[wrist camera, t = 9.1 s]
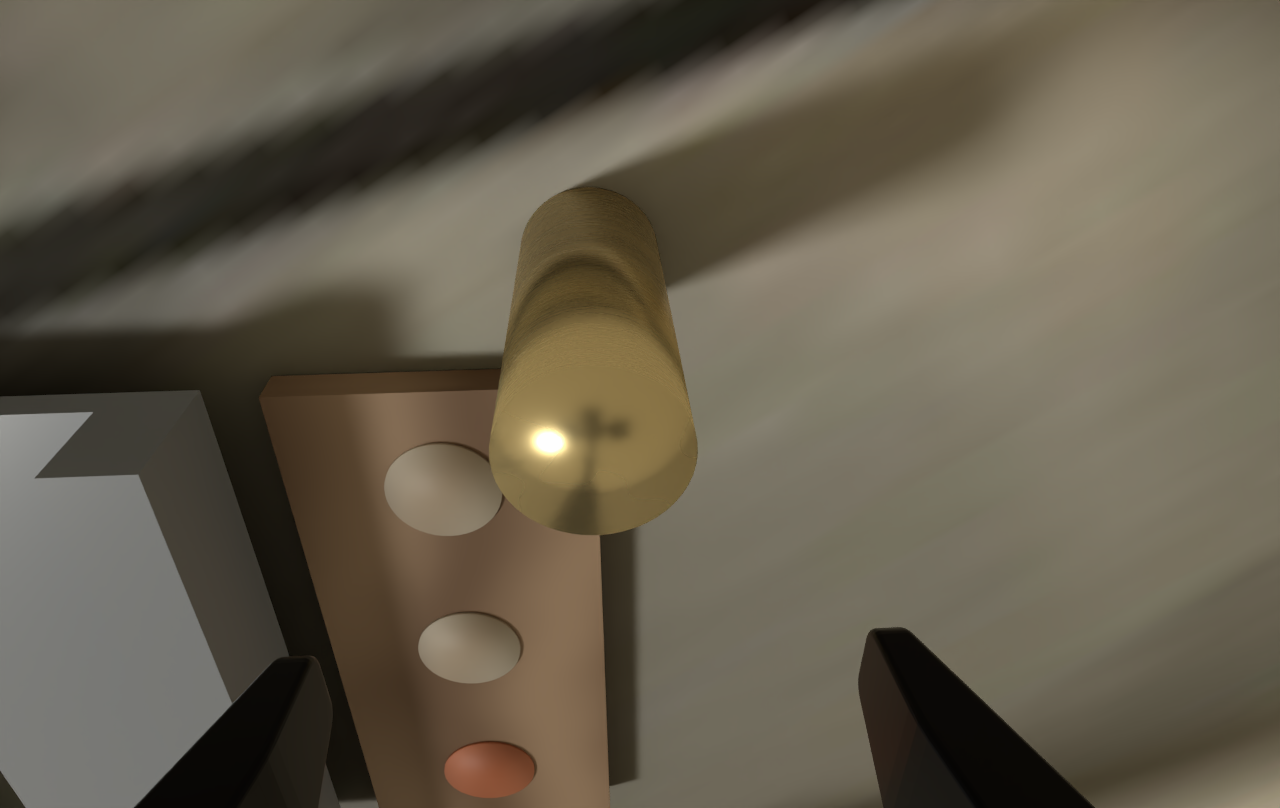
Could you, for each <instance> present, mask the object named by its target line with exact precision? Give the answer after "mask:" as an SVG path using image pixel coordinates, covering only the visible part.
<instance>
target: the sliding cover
mask: <svg viewBox="0 0 1280 808" xmlns="http://www.w3.org/2000/svg"><path fill="white" fill-rule="evenodd" d="M288 656H289V653H288V650H287V647H286V644H285V641H284V638H283V635H282V632H281V630H280V627H279V624H278V621H277V618H276V615H275V612H274V609H273V606H272V603H271V600H270V597H269V594H268V591H267V588H266V585H265V582H264V579H263V576H262V573H261V570H260V567H259V564H258V561H257V558H256V555H255V552H254V549H253V546H252V543H251V540H250V538H249V535H248V532H247V529H246V526H245V523H244V520H243V517H242V514H241V511H240V508H239V505H238V502H237V499H236V496H235V493H234V490H233V487H232V484H231V481H230V478H229V475H228V472H227V469H226V466H225V463H224V460H223V457H222V454H221V451H220V448H219V445H218V443H217V440H216V437H215V434H214V431H213V428H212V425H211V422H210V419H209V416H208V413H207V410H206V407H205V404H204V401H203V398H202V395H201V392H200V390H186V391H155V392H124V393H94V394H63V395H33V396H2V397H0V771H1V772H2V774H3V775H4V777H5V778H6V780H7V781H8V783H9V784H10V786H11V787H12V788H13V790H14V791H15V793H16V794H17V796H18V797H19V799H20V800H21V802H22V803H23V804H24V806H25V807H26V808H133V807H134V806H135V805H136V804H137V803H138V802H139V801H140V800H141V799H142V798H143V797H144V796H145V795H146V794H147V793H148V792H149V790H150V789H151V788H152V787H153V786H154V785H155V784H156V783H157V782H158V781H159V780H160V779H161V778H162V777H163V776H164V775H165V774H166V773H167V772H168V771H169V769H170V768H171V767H172V766H173V765H174V764H175V763H176V762H177V761H178V760H179V759H180V758H181V757H182V756H183V755H184V754H185V753H186V752H187V751H188V750H189V748H190V747H191V746H192V745H193V744H194V743H195V742H196V741H197V740H198V739H199V738H200V737H201V736H202V735H203V734H204V733H205V732H206V731H207V730H208V729H209V728H210V726H211V725H212V724H213V723H214V722H215V721H216V720H217V719H218V718H219V717H220V716H221V715H222V714H223V713H224V712H225V711H226V710H227V709H228V708H229V707H230V705H231V704H232V703H233V702H234V701H235V700H236V699H237V698H238V697H239V696H240V695H241V694H242V693H243V692H244V691H245V690H246V689H247V688H248V687H249V686H250V684H251V683H252V682H253V681H254V680H255V679H256V678H257V677H258V676H259V675H260V674H261V673H262V672H263V671H264V670H265V669H266V668H267V667H268V666H269V665H270V664H271V663H272V662H273V661H274V660H276V659H278V658H280V657H288ZM318 808H340V805H339V802H338V799H337V796H336V793H335V790H334V787H333V784H332V781H331V778H330V775H329V772H328V769H327V766H326V764H325V770H324V776H323V782H322V788H321V794H320V800H319V806H318Z"/></svg>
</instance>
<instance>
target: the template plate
mask: <svg viewBox="0 0 1280 808" xmlns="http://www.w3.org/2000/svg"><path fill="white" fill-rule="evenodd" d="M500 373H501V369H479V370H447V371H416V372H385V373H354V374H323V375H291V376H271V378H270V380H269V381H268V383H267V385H266V386H265V388H264V389H263V391H262V393H261V394H260V396H259V401H260V404H261V407H262V411H263V414H264V418H265V421H266V424H267V428H268V431H269V435H270V438H271V441H272V445H273V448H274V452H275V455H276V459H277V462H278V465H279V469H280V472H281V476H282V479H283V482H284V486H285V489H286V493H287V496H288V499H289V503H290V506H291V510H292V513H293V516H294V520H295V523H296V527H297V530H298V533H299V537H300V540H301V544H302V547H303V550H304V554H305V557H306V561H307V564H308V567H309V571H310V574H311V578H312V581H313V584H314V588H315V591H316V595H317V598H318V601H319V605H320V608H321V612H322V615H323V618H324V622H325V625H326V629H327V632H328V635H329V639H330V642H331V646H332V649H333V652H334V656H335V659H336V663H337V666H338V669H339V673H340V676H341V680H342V683H343V686H344V690H345V693H346V697H347V700H348V703H349V707H350V710H351V714H352V717H353V720H354V724H355V727H356V731H357V734H358V737H359V741H360V744H361V748H362V751H363V754H364V758H365V761H366V765H367V768H368V771H369V775H370V778H371V782H372V785H373V788H374V792H375V795H376V799H377V802H378V805H379V808H610V793H609V765H608V738H607V711H606V685H605V658H604V631H603V604H602V577H601V550H600V535H579V534H571V533H566V532H561V531H558V530H554V529H551V528H548V527H546V526H544V525H541V524H539V523H537V522H535V521H533V520H532V519H530V518H528V517H527V516H525V515H524V514H523V513H521V512H520V511H519V510H517V509H516V508H515V507H514V506H513V505H512V504H511V503H510V502H509V501H508V500H507V499H506V497H505V496H504V495H503V493H502V492H501V490H500V489H499V487H498V485H497V483H496V482H495V479H494V476H493V474H492V471H491V466H490V461H489V444H490V436H491V430H492V424H493V418H494V411H495V405H496V399H497V392H498V386H499V380H500Z"/></svg>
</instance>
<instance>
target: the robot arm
mask: <svg viewBox="0 0 1280 808" xmlns="http://www.w3.org/2000/svg"><path fill="white" fill-rule="evenodd" d="M858 687H859V696H860V701H861V705H862V710H863V715H864V719H865V724H866V728H867V733H868V738H869V742H870V747H871V752H872V756H873V761H874V765H875V770H876V775H877V779H878V784H879V789H880V793H881V798H882V802H883V807H884V808H1095V807H1094V806H1093V805H1092V804H1091V803H1090V802H1089V801H1087V800H1086V799H1085V798H1084V797H1083V796H1082V795H1081V794H1080V793H1079V792H1078V791H1077V790H1076V789H1075V788H1074V787H1073V786H1072V785H1071V784H1070V783H1069V782H1068V781H1067V780H1065V779H1064V778H1063V777H1062V776H1061V775H1060V774H1059V773H1058V772H1057V771H1056V770H1055V769H1054V768H1053V767H1052V766H1051V765H1050V764H1049V763H1048V762H1047V761H1046V760H1045V759H1043V758H1042V757H1041V756H1040V755H1039V754H1038V753H1037V752H1036V751H1035V750H1034V749H1033V748H1032V747H1031V746H1030V745H1029V744H1028V743H1027V742H1026V741H1025V740H1024V739H1023V738H1022V737H1020V736H1019V735H1018V734H1017V733H1016V732H1015V731H1014V730H1013V729H1012V728H1011V727H1010V726H1009V725H1008V724H1007V723H1006V722H1005V721H1004V720H1003V719H1002V718H1001V717H1000V716H998V715H997V714H996V713H995V712H994V711H993V710H992V709H991V708H990V707H989V706H988V705H987V704H986V703H985V702H984V701H983V700H982V699H981V698H980V697H979V696H978V695H977V694H975V693H974V692H973V691H972V690H971V689H970V688H969V687H968V686H967V685H966V684H965V683H964V682H963V681H962V680H961V679H960V678H959V677H958V676H957V675H956V674H955V673H953V672H952V671H951V670H950V669H949V668H948V667H947V666H946V665H945V664H944V663H943V662H942V661H941V660H940V659H939V658H938V657H937V656H936V655H935V654H934V653H933V652H932V651H930V650H929V649H928V648H927V647H926V646H925V645H924V644H923V643H922V642H921V641H920V640H919V639H918V638H917V637H916V636H915V635H914V634H913V633H912V632H910V631H909V630H907V629H905V628H901V627H893V628H875V629H872V630H871V631H870V632H869V633H868V635H867V638H866V643H865V648H864V653H863V657H862V662H861V667H860V672H859V677H858ZM332 716H333V713H332V703H331V699H330V696H329V693H328V689H327V686H326V683H325V680H324V676H323V673H322V670H321V667H320V664H319V662H318V660H317V659H316V658H315V657H314V656H309V655H308V656H288V657H280V658H278V659H276V660H274V661H273V662H272V663H271V664H270V665H269V666H268V667H267V668H266V669H265V670H264V671H263V672H262V673H261V674H260V675H259V676H258V677H257V678H256V679H255V680H254V681H253V682H252V683H251V684H250V686H249V687H248V688H247V689H246V690H245V691H244V692H243V693H242V694H241V695H240V696H239V697H238V698H237V699H236V700H235V701H234V702H233V703H232V704H231V705H230V707H229V708H228V709H227V710H226V711H225V712H224V713H223V714H222V715H221V716H220V717H219V718H218V719H217V720H216V721H215V722H214V723H213V724H212V725H211V726H210V728H209V729H208V730H207V731H206V732H205V733H204V734H203V735H202V736H201V737H200V738H199V739H198V740H197V741H196V742H195V743H194V744H193V745H192V746H191V747H190V748H189V750H188V751H187V752H186V753H185V754H184V755H183V756H182V757H181V758H180V759H179V760H178V761H177V762H176V763H175V764H174V765H173V766H172V767H171V768H170V769H169V771H168V772H167V773H166V774H165V775H164V776H163V777H162V778H161V779H160V780H159V781H158V782H157V783H156V784H155V785H154V786H153V787H152V788H151V789H150V790H149V792H148V793H147V794H146V795H145V796H144V797H143V798H142V799H141V800H140V801H139V802H138V803H137V804H136V805H135V806H134V807H133V808H318V806H319V800H320V794H321V788H322V782H323V776H324V770H325V764H326V757H327V751H328V745H329V739H330V733H331V727H332Z"/></svg>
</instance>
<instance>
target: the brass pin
mask: <svg viewBox="0 0 1280 808" xmlns="http://www.w3.org/2000/svg"><path fill="white" fill-rule="evenodd" d="M697 454H698V448H697V438H696V433H695V428H694V423H693V418H692V413H691V408H690V403H689V398H688V393H687V388H686V384H685V379H684V374H683V369H682V364H681V359H680V354H679V349H678V344H677V339H676V334H675V329H674V325H673V320H672V315H671V310H670V305H669V300H668V295H667V290H666V285H665V280H664V275H663V270H662V265H661V261H660V256H659V251H658V246H657V241H656V236H655V233H654V230H653V228H652V226H651V224H650V222H649V220H648V218H647V217H646V216H645V214H644V213H643V212H642V211H641V210H640V209H639V207H638V206H636V205H635V204H634V203H633V202H632V201H630V200H629V199H627V198H626V197H624V196H622V195H620V194H618V193H616V192H613V191H610V190H606V189H601V188H592V187H585V188H576V189H571V190H567V191H565V192H562V193H559V194H557V195H555V196H554V197H552V198H550V199H549V200H547V201H546V202H544V203H543V204H542V205H541V206H540V207H539V208H538V209H537V210H536V211H535V213H534V214H533V215H532V217H531V218H530V220H529V221H528V223H527V225H526V228H525V230H524V233H523V237H522V241H521V247H520V254H519V260H518V266H517V273H516V279H515V285H514V292H513V298H512V304H511V310H510V317H509V323H508V329H507V336H506V342H505V348H504V355H503V361H502V367H501V373H500V380H499V386H498V392H497V399H496V405H495V411H494V418H493V424H492V430H491V436H490V444H489V461H490V466H491V471H492V474H493V476H494V479H495V482H496V483H497V485H498V487H499V489H500V490H501V492H502V493H503V495H504V496H505V497H506V499H507V500H508V501H509V502H510V503H511V504H512V505H513V506H514V507H515V508H516V509H517V510H519V511H520V512H521V513H523V514H524V515H525V516H527V517H528V518H530V519H532V520H533V521H535V522H537V523H539V524H541V525H544V526H546V527H548V528H551V529H554V530H558V531H561V532H566V533H571V534H579V535H605V534H613V533H618V532H623V531H626V530H629V529H633V528H636V527H638V526H640V525H643V524H645V523H647V522H649V521H651V520H653V519H654V518H656V517H658V516H659V515H661V514H662V513H663V512H665V511H666V510H667V509H668V508H670V507H671V506H672V505H673V504H674V503H675V502H676V501H677V500H678V498H679V497H680V496H681V495H682V494H683V492H684V491H685V489H686V488H687V486H688V484H689V482H690V480H691V478H692V476H693V473H694V470H695V466H696V462H697Z"/></svg>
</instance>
